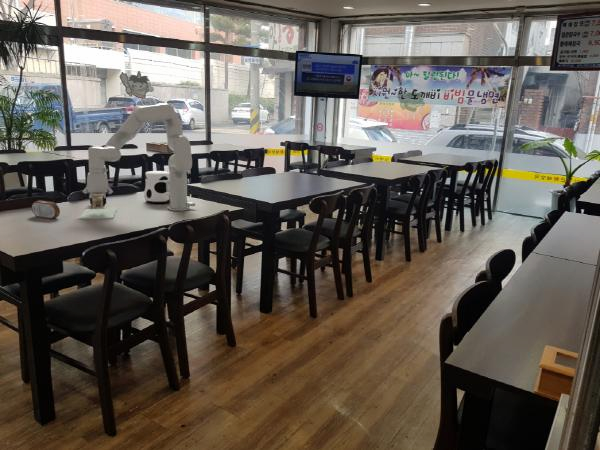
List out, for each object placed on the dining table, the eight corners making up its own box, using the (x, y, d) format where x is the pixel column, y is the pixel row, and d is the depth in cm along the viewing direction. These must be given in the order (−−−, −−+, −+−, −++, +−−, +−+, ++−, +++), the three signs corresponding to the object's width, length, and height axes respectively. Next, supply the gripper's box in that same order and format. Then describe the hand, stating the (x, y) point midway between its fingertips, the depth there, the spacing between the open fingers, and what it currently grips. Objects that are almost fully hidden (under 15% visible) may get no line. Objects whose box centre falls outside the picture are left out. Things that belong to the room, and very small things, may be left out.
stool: (104, 206, 258) (103, 194, 256) (102, 208, 253) (102, 196, 252) (94, 206, 256) (93, 194, 255) (92, 208, 252) (92, 196, 250)
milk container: (144, 199, 301) (143, 170, 297) (173, 199, 306) (172, 170, 302) (144, 204, 285) (143, 174, 281) (174, 204, 290) (174, 174, 286)
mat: (117, 209, 268) (117, 208, 268) (112, 218, 248) (112, 217, 247) (86, 210, 264) (85, 208, 264) (79, 219, 243) (78, 218, 243)
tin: (60, 218, 243) (59, 202, 241) (56, 220, 240) (54, 203, 238) (35, 215, 246) (34, 199, 244) (31, 216, 243) (29, 200, 241)
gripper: (115, 170, 256) (116, 204, 260) (80, 169, 252) (82, 203, 256) (113, 172, 249) (114, 206, 253) (77, 171, 245) (79, 206, 249)
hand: (98, 204), depth 255 cm, fingers closed on stool, 5 cm apart
